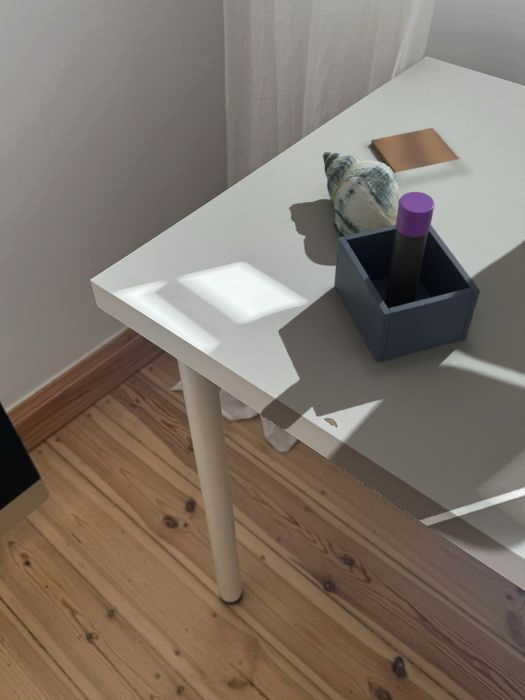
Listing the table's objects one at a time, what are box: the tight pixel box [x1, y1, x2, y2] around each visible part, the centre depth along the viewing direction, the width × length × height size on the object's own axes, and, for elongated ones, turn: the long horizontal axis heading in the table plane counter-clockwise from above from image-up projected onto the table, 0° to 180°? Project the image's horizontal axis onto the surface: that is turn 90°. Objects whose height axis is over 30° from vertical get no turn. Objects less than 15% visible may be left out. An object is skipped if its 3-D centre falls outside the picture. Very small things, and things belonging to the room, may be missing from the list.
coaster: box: [370, 127, 460, 174], centre depth 85 cm, size 8×8×1 cm
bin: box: [333, 225, 481, 364], centre depth 66 cm, size 9×10×7 cm
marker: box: [385, 191, 436, 308], centre depth 63 cm, size 3×3×12 cm
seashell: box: [322, 151, 401, 237], centre depth 75 cm, size 6×8×12 cm
